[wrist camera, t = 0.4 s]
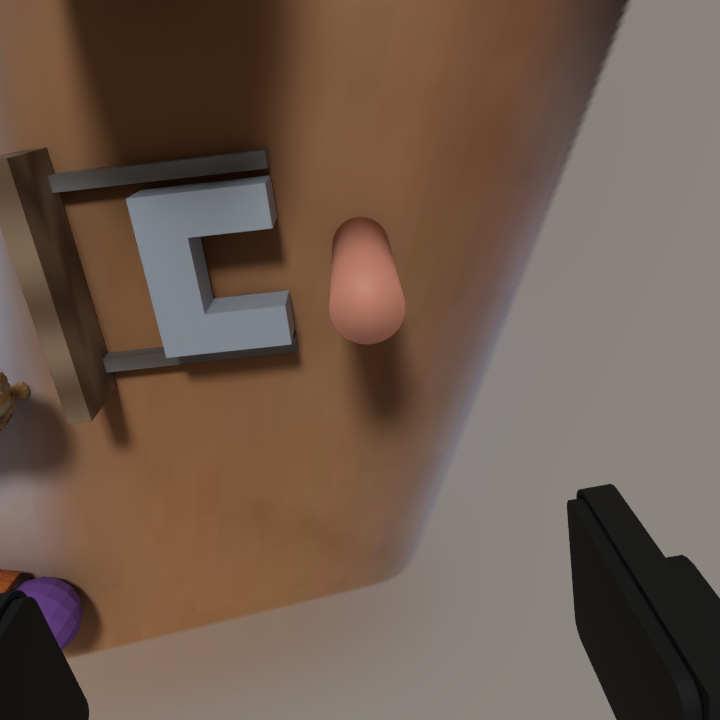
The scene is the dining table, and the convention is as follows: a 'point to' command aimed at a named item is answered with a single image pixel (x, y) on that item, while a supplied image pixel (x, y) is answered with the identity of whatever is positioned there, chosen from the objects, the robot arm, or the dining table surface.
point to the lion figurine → (10, 398)
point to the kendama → (50, 603)
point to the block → (189, 270)
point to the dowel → (364, 283)
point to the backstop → (66, 277)
